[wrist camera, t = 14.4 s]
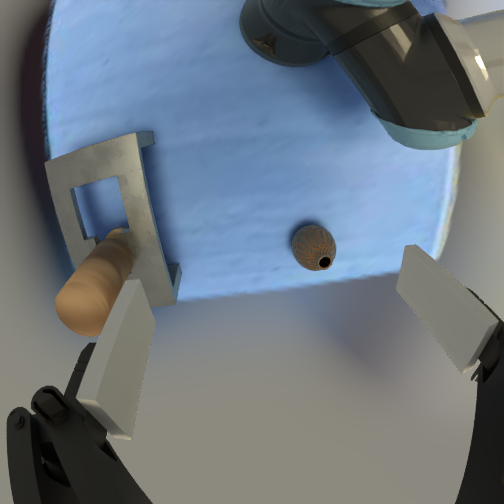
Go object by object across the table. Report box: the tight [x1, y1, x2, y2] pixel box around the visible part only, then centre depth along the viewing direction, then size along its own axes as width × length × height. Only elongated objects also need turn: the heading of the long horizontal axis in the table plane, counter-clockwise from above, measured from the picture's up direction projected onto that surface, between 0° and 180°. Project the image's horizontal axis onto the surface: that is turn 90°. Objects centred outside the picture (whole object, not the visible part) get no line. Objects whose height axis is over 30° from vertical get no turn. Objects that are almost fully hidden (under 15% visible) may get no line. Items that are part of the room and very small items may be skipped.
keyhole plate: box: [45, 131, 182, 308], centre depth 36 cm, size 24×14×9 cm, turn 6°
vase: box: [292, 225, 336, 271], centre depth 42 cm, size 7×7×9 cm
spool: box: [55, 227, 134, 337], centre depth 30 cm, size 6×6×17 cm
